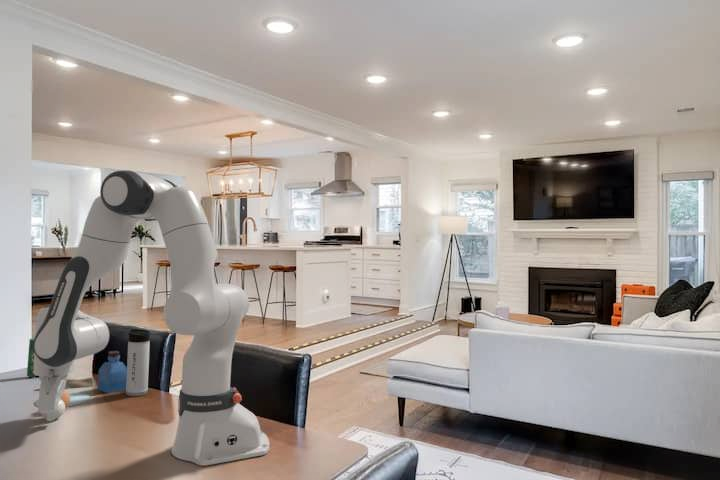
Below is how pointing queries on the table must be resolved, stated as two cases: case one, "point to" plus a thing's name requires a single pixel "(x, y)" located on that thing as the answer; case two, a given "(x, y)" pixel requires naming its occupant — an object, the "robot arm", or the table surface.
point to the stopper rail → (79, 382)
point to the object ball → (65, 398)
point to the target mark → (74, 399)
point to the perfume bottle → (112, 374)
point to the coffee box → (31, 360)
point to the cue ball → (58, 410)
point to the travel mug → (138, 362)
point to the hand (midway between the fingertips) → (51, 419)
